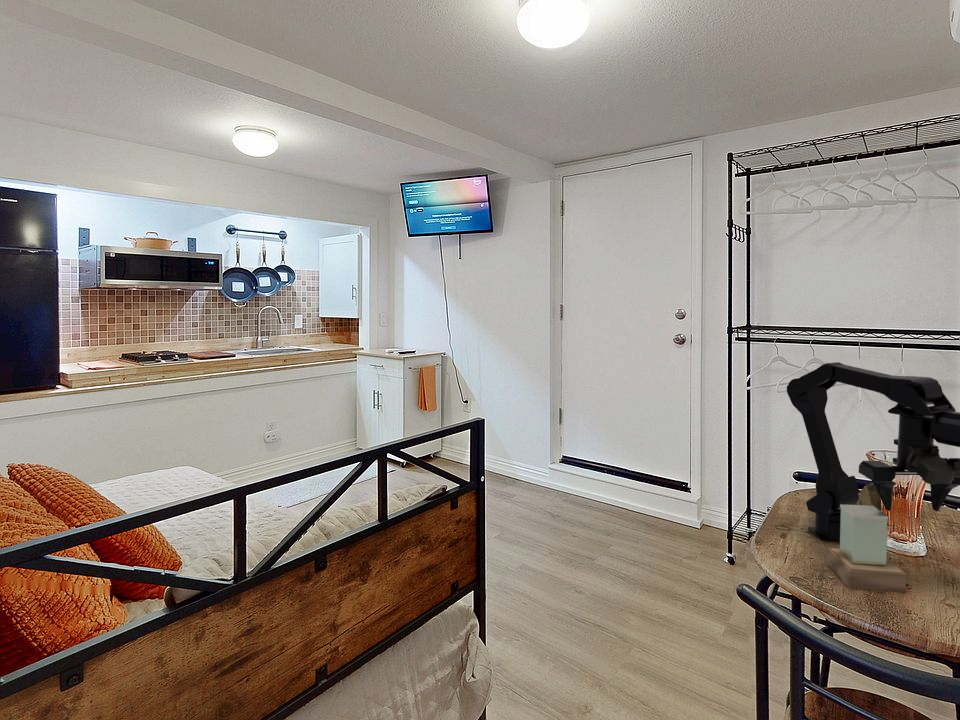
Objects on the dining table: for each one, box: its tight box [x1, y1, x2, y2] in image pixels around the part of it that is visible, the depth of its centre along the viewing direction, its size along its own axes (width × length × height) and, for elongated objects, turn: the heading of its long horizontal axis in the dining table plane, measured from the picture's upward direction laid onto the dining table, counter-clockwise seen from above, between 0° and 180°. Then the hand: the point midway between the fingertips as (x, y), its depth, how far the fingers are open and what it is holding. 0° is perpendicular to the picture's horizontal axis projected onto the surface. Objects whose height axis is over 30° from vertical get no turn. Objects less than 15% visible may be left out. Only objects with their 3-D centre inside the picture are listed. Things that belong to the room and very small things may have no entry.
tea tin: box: [839, 504, 889, 565], centre depth 111 cm, size 6×6×10 cm
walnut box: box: [826, 547, 907, 593], centre depth 111 cm, size 10×10×4 cm
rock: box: [858, 482, 881, 511], centre depth 140 cm, size 11×9×10 cm
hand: (911, 510), depth 112 cm, fingers open, 9 cm apart
